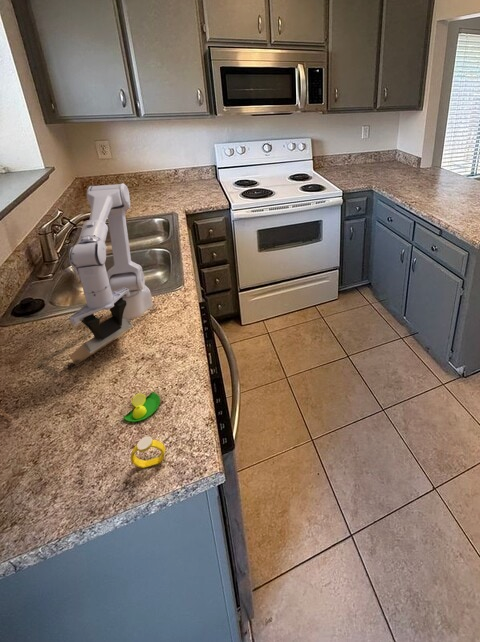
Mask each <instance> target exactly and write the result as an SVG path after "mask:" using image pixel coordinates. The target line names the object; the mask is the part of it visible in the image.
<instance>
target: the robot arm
mask: <svg viewBox="0 0 480 642" xmlns="http://www.w3.org/2000/svg"><path fill="white" fill-rule="evenodd" d="M86 199H87V202H88V204H89V206H90V214H89V220H87V221H85V222H84V223H83V224H82V227H81V230H80V233H79V237H78V240H77V243H76V244H74V245H73V246H71V247H70V249H69V252H68V256H69V257H68V258H69V265H70V266H71V268H73V270H74V272H75V274H76V275H77V276H79V277H78V278H79V280H80V284H81V287H82V291H83V294H84V297H85V301H86V304H84V306H82V307H81V308H80V309H78V310H77V311H76V312H74V313H73V314H72V315H69V321H70V324H72V325H74V326H78V325H80V323H82V324H83V325H85V327H87V328H88V329H89V331H90V332H91V334H92V335H93V337H95V338H97V339H99V340H100V339H102V333H101V330H100V323H101V319H100V318H98V317H97V316H96V315H95V314H96V313H99V312H102V311H104V310H105V311H110V314H111V317H112V316H114V317H115V319H116V320H117V322H118V323H119V325H120V326H122V320H123V319H124V318H126V317H127V318H128V320H129V321H130V320H135V319H137V318H139V317H141V316H143V315H144V314H145V313H146V312H147V311H149V310H150V309H152V308H154V301H153V296H152V293H151V290H150V288H149V287H148V285H146V278H145V274H144V271H143V267H142V265H140V264H138V263H136V262H134V261H132V256H131V249H130V241H129V234H128V227H127V217H126V212H127V211H129V210H130V209H131V206H132V205H131V204H132V203H131V196H130V191H129V188H128V186H127V185H126V184H125V183H118V184H104V185H103V184H102V185H89V186H88V188H87V190H86ZM107 221H108V224H107V223H106V222H107ZM108 232H109V236H110V245H111V251H112V258H113V266H111V267H110V268H109V269H108V270H107V267H106V260H107V245H106V240H107V236H108Z"/></svg>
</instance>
